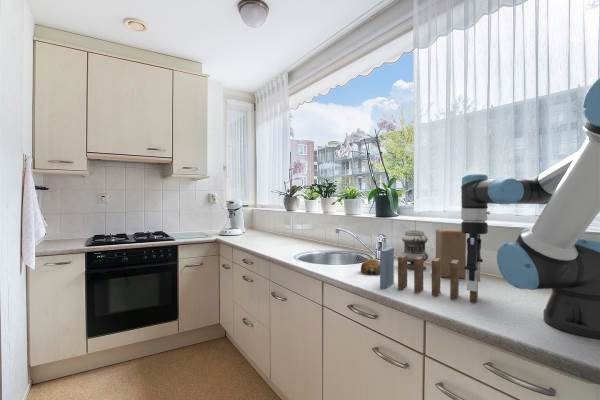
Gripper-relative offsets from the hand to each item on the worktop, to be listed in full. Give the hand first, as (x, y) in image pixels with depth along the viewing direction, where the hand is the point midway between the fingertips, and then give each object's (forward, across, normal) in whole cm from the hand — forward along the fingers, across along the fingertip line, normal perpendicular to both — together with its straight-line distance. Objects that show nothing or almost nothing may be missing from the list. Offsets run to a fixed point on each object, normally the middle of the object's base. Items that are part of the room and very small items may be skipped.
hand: (473, 285), depth 100 cm
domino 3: (+5, 0, +12) cm, 13 cm away
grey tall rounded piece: (+5, +38, +28) cm, 47 cm away
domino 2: (+5, 0, +17) cm, 18 cm away
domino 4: (+5, 0, +6) cm, 7 cm away
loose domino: (+5, 0, 0) cm, 5 cm away
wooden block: (+5, +31, +12) cm, 33 cm away
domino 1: (+5, 0, +23) cm, 24 cm away
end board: (+5, 0, +29) cm, 29 cm away
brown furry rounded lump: (+5, +16, +42) cm, 45 cm away
